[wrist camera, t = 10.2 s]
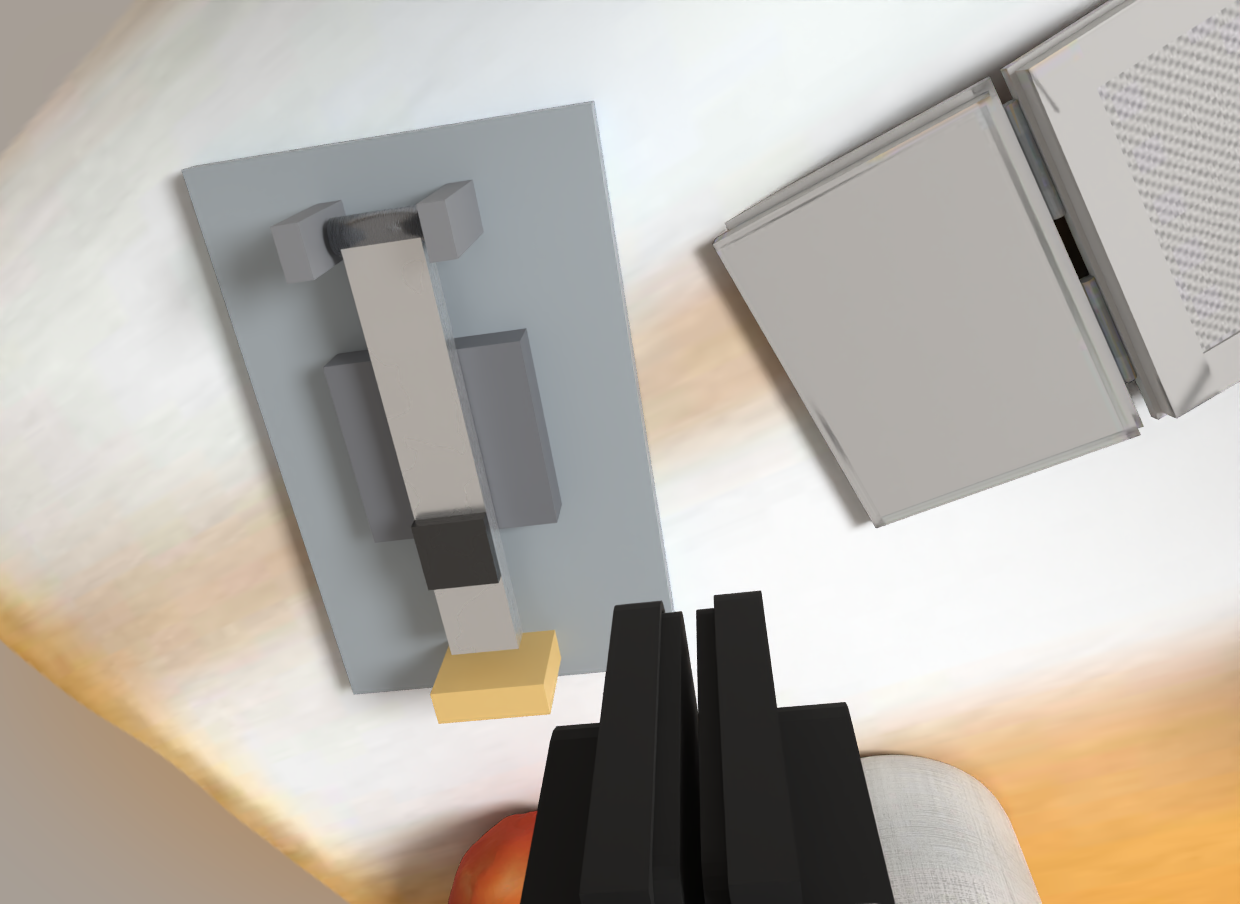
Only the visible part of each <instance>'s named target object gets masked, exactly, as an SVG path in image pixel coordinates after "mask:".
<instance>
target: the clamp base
mask: <svg viewBox="0 0 1240 904" xmlns="http://www.w3.org/2000/svg"><path fill="white" fill-rule="evenodd" d="M182 173H183V176H184V179H185V183H186V186H187V189H188V192H189V195H190V198H191V201H192V204H193V207H194V210H195V213H196V216H197V219H198V222H199V225H200V228H201V231H202V234H203V237H204V240H205V243H206V246H207V249H208V252H209V255H210V259H211V262H212V265H213V268H214V271H215V274H216V277H217V280H218V283H219V286H220V289H221V292H222V295H223V298H224V301H225V304H226V307H227V310H228V313H229V316H230V319H231V322H232V325H233V328H234V332H235V335H236V338H237V341H238V344H239V347H240V350H241V353H242V356H243V359H244V362H245V365H246V368H247V371H248V374H249V377H250V380H251V383H252V386H253V389H254V392H255V395H256V398H257V401H258V404H259V408H260V411H261V414H262V417H263V420H264V423H265V426H266V429H267V432H268V435H269V438H270V441H271V444H272V447H273V450H274V453H275V456H276V459H277V462H278V465H279V468H280V471H281V474H282V477H283V480H284V484H285V487H286V490H287V493H288V496H289V499H290V502H291V505H292V508H293V511H294V514H295V517H296V520H297V523H298V526H299V529H300V532H301V535H302V538H303V541H304V544H305V547H306V550H307V553H308V557H309V560H310V563H311V566H312V569H313V572H314V575H315V578H316V581H317V584H318V587H319V590H320V593H321V596H322V599H323V602H324V605H325V608H326V611H327V614H328V617H329V620H330V623H331V626H332V629H333V633H334V636H335V639H336V642H337V645H338V648H339V651H340V654H341V657H342V660H343V663H344V666H345V669H346V672H347V675H348V678H349V681H350V684H351V687H352V690H353V693H354V694H365V693H376V692H387V691H398V690H409V689H420V688H431V687H433V688H432V691H431V694H430V695H431V699H432V702H433V706H434V709H435V713H436V716H437V720H438V723H439V724H441V723H453V722H465V721H476V720H488V719H500V718H511V717H523V716H535V715H547V714H550V713H551V708H552V703H553V698H554V693H555V687H556V682H557V677H558V676H564V675H575V674H586V673H597V672H606V667H607V659H608V651H609V643H610V634H611V626H612V618H613V610H614V606H615V605H621V604H631V603H641V602H651V601H661V600H662V602H663V605H664V609H665V613H669V612H674V606H673V600H672V594H671V587H670V581H669V574H668V568H667V562H666V555H665V549H664V543H663V536H662V530H661V524H660V517H659V511H658V505H657V498H656V492H655V485H654V479H653V473H652V466H651V460H650V454H649V447H648V441H647V435H646V428H645V422H644V415H643V409H642V403H641V396H640V390H639V384H638V377H637V371H636V365H635V358H634V352H633V345H632V339H631V333H630V326H629V320H628V314H627V307H626V301H625V295H624V288H623V282H622V275H621V269H620V263H619V256H618V250H617V244H616V237H615V231H614V225H613V218H612V212H611V205H610V199H609V193H608V186H607V180H606V174H605V167H604V161H603V155H602V148H601V142H600V136H599V129H598V123H597V116H596V110H595V104H594V101H590V102H584V103H578V104H572V105H566V106H560V107H553V108H547V109H541V110H535V111H529V112H523V113H517V114H510V115H504V116H498V117H492V118H486V119H480V120H474V121H467V122H461V123H455V124H449V125H443V126H437V127H431V128H424V129H418V130H412V131H406V132H400V133H394V134H388V135H381V136H375V137H369V138H363V139H357V140H351V141H345V142H338V143H332V144H326V145H320V146H314V147H308V148H302V149H295V150H289V151H283V152H277V153H271V154H265V155H258V156H252V157H246V158H240V159H234V160H228V161H222V162H215V163H209V164H203V165H197V166H193V167H190V168H186V169H183V170H182ZM412 205H416V206H417V210H418V214H419V219H420V223H421V227H422V231H423V236H424V240H425V244H426V248H427V252H428V257H429V261H430V263H434V262H436V264H437V268H438V272H439V277H440V281H441V285H442V290H443V294H444V298H445V302H446V307H447V311H448V315H449V319H450V324H451V328H452V332H453V336H454V341H455V345H456V349H457V353H458V358H459V362H460V366H461V370H462V375H463V379H464V383H465V387H466V392H467V396H468V400H469V404H470V409H471V413H472V417H473V421H474V426H475V430H476V434H477V438H478V443H479V447H480V451H481V456H482V460H483V464H484V468H485V473H486V477H487V481H488V485H489V490H490V494H491V498H492V502H493V507H494V511H495V515H496V519H497V524H498V528H499V532H500V536H501V541H502V545H503V549H504V553H505V558H506V562H507V566H508V570H509V575H510V579H511V583H512V587H513V592H514V596H515V600H516V605H517V609H518V613H519V617H520V622H521V626H522V630H523V635H522V638H521V642H520V646H519V649H510V650H499V651H489V652H478V653H467V654H457V655H452V654H451V651H450V647H449V643H448V640H447V636H446V633H445V629H444V625H443V622H442V618H441V614H440V611H439V607H438V603H437V600H436V596H435V592H434V590H428V587H427V584H426V580H425V576H424V573H423V569H422V566H421V562H420V558H419V555H418V551H417V548H416V544H415V540H414V537H413V533H412V529H411V526H412V524H413V522H414V520H415V519H414V516H413V512H412V508H411V505H410V501H409V497H408V494H407V490H406V486H405V483H404V479H403V475H402V472H401V468H400V465H399V461H398V457H397V454H396V450H395V446H394V443H393V439H392V435H391V432H390V428H389V424H388V421H387V417H386V413H385V410H384V406H383V402H382V399H381V395H380V391H379V388H378V384H377V381H376V377H375V373H374V370H373V366H372V362H371V359H370V355H369V351H368V348H367V344H366V340H365V337H364V333H363V329H362V326H361V322H360V318H359V315H358V311H357V307H356V304H355V300H354V297H353V293H352V289H351V286H350V282H349V278H348V275H347V271H346V267H345V264H344V260H343V256H341V257H338V256H336V255H335V253H334V252H333V250H332V248H331V246H330V243H329V239H328V234H327V224H328V220H329V219H330V218H333V217H340V216H346V215H353V214H359V213H366V212H372V211H379V210H386V209H392V208H399V207H405V206H412Z"/></svg>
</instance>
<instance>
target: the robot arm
mask: <svg viewBox="0 0 1240 904" xmlns="http://www.w3.org/2000/svg"><path fill="white" fill-rule="evenodd" d="M696 627H697V677H698V709H697V703H696V696H695V690H694V683H693V677H692V670H691V664H690V657H689V651H688V644H687V638H686V631H685V625H684V619H683V614H682V611H680V612H669V613H665V609H664V605H663V602H662V600H661V601H651V602H641V603H631V604H621V605H615V606H614V610H613V618H612V626H611V634H610V643H609V651H608V659H607V667H606V676H605V684H604V692H603V700H602V709H601V717H600V723H591V724H579V725H567V726H557V727H556V728H555V729H554V730H553V733H552V736H551V740H550V745H549V750H548V756H547V761H546V766H545V772H544V777H543V782H542V788H541V793H540V798H539V804H538V809H537V814H536V820H535V825H534V831H533V836H532V841H531V847H530V852H529V857H528V863H527V868H526V873H525V879H524V884H523V889H522V895H521V900H520V904H895V900H894V896H893V892H892V888H891V884H890V880H889V875H888V871H887V867H886V863H885V859H884V854H883V850H882V846H881V842H880V838H879V834H878V829H877V825H876V821H875V817H874V813H873V809H872V804H871V800H870V796H869V792H868V788H867V784H866V779H865V775H864V771H863V767H862V763H861V758H860V754H859V750H858V746H857V742H856V738H855V733H854V729H853V725H852V721H851V717H850V713H849V709H848V706H847V704H846V702H841V703H829V704H817V705H805V706H793V707H781V708H777V704H776V696H775V689H774V682H773V674H772V667H771V659H770V652H769V645H768V637H767V630H766V623H765V615H764V608H763V600H762V593H761V591H753V592H742V593H732V594H722V595H714V608H710V609H700V610H696Z"/></svg>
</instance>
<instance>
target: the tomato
mask: <svg viewBox="0 0 1240 904" xmlns="http://www.w3.org/2000/svg"><path fill="white" fill-rule="evenodd" d="M536 814H537V811H534V812H528V813H525V814H515V815H511V816H507V817H506V818H504V819H503V820H501V821H500V822H499V823H498V824H496V825H495V826H494V827H492V828H491V829H490V830H489V831H488V832H486V833H485V834H484V835H483V836H482V837H481V838H480V839H479V840H478V841H477V842H476V843H475V844H473V845H472V846H471V847H470V849H469V850H468V851H467V852H466V854H465V855H464V856H463V858H462V860H461V862H460V865H459V867H458V870H457V872H456V875H455V879H454V883H453V887H452V890H451V893H450V897H449V901H448V904H520V900H521V895H522V889H523V884H524V879H525V873H526V868H527V863H528V857H529V852H530V847H531V841H532V836H533V831H534V825H535V820H536Z"/></svg>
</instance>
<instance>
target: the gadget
mask: <svg viewBox="0 0 1240 904" xmlns="http://www.w3.org/2000/svg"><path fill="white" fill-rule="evenodd" d="M1001 72H1002V75H1003V77H1004V79H1005V82H1006V84H1007V86H1008V88H1009V91H1010V93H1011V95H1012V98H1013V99H1012V100H1010V101H1008V102H1006V103H1005V104H1003V105H1002V103H1001V101H1000V99H999V97H998V94H997V92H996V90H995V88H994V85H993V83H992V81H991V78H990V77H987V78H985V79H983V80H981V81H979V82H978V83H976V84H974V85H972V86H970V87H968V88H967V89H965V90H963V91H961V92H959V93H957V94H956V95H954V96H952V97H950V98H948V99H946V100H945V101H943V102H941V103H939V104H937V105H935V106H934V107H932V108H930V109H928V110H926V111H924V112H923V113H921V114H919V115H917V116H915V117H913V118H912V119H910V120H908V121H906V122H904V123H902V124H901V125H899V126H897V127H895V128H893V129H892V130H890V131H888V132H886V133H884V134H882V135H881V136H879V137H877V138H875V139H873V140H871V141H870V142H868V143H866V144H864V145H862V146H860V147H859V148H857V149H855V150H853V151H851V152H849V153H848V154H846V155H844V156H842V157H840V158H838V159H837V160H835V161H833V162H831V163H829V164H827V165H826V166H824V167H822V168H820V169H818V170H816V171H815V172H813V173H811V174H809V175H807V176H806V177H804V178H802V179H800V180H798V181H796V182H795V183H793V184H791V185H789V186H787V187H785V188H784V189H782V190H780V191H778V192H776V193H774V194H773V195H771V196H769V197H768V198H766V199H764V200H763V201H761V202H759V203H758V204H756V205H754V206H753V207H751V208H749V209H748V210H746V211H744V212H742V213H741V214H739V215H737V216H736V217H734V218H732V219H731V220H729V221H727V222H726V223H725V225H726V227H727V228H728V230H729V231H727V232H726V233H724V234H722V235H721V236H719V237H717V238H716V239H715V241H714V243H713V246H714V248H715V250H716V252H717V253H718V255H719V257H720V258H721V260H722V262H723V264H724V265H725V267H726V269H727V271H728V272H729V274H730V276H731V278H732V279H733V281H734V283H735V285H736V286H737V288H738V290H739V291H740V293H741V295H742V297H743V298H744V300H745V302H746V304H747V305H748V307H749V309H750V311H751V312H752V314H753V316H754V318H755V319H756V321H757V323H758V324H759V326H760V328H761V330H762V331H763V333H764V335H765V337H766V338H767V340H768V342H769V344H770V345H771V347H772V349H773V351H774V352H775V354H776V356H777V357H778V359H779V361H780V363H781V364H782V366H783V368H784V370H785V371H786V373H787V375H788V377H789V378H790V380H791V382H792V384H793V385H794V387H795V389H796V390H797V392H798V394H799V396H800V397H801V399H802V401H803V403H804V404H805V406H806V408H807V410H808V411H809V413H810V415H811V417H812V418H813V420H814V422H815V423H816V425H817V427H818V429H819V430H820V432H821V434H822V436H823V437H824V439H825V441H826V443H827V444H828V446H829V448H830V450H831V451H832V453H833V455H834V456H835V458H836V460H837V462H838V463H839V465H840V467H841V469H842V470H843V472H844V474H845V476H846V477H847V479H848V481H849V483H850V484H851V486H852V488H853V489H854V491H855V493H856V495H857V496H858V498H859V500H860V502H861V503H862V505H863V507H864V509H865V510H866V512H867V514H868V516H869V517H870V519H871V521H872V522H873V524H874V526H875V528H879V527H881V526H884V525H887V524H890V523H893V522H896V521H898V520H901V519H904V518H907V517H910V516H913V515H915V514H918V513H921V512H924V511H927V510H930V509H932V508H935V507H938V506H941V505H944V504H947V503H949V502H952V501H955V500H958V499H961V498H964V497H966V496H969V495H972V494H975V493H978V492H981V491H983V490H986V489H989V488H992V487H995V486H998V485H1000V484H1003V483H1006V482H1009V481H1012V480H1015V479H1017V478H1020V477H1023V476H1026V475H1029V474H1032V473H1034V472H1037V471H1040V470H1043V469H1046V468H1049V467H1051V466H1054V465H1057V464H1060V463H1063V462H1066V461H1068V460H1071V459H1074V458H1077V457H1080V456H1083V455H1085V454H1088V453H1091V452H1094V451H1097V450H1100V449H1102V448H1105V447H1108V446H1111V445H1114V444H1117V443H1119V442H1122V441H1125V440H1128V439H1131V438H1134V437H1136V436H1139V435H1140V432H1139V430H1138V428H1141V427H1144V426H1143V424H1142V421H1141V419H1140V417H1139V415H1138V412H1137V410H1136V408H1135V405H1134V403H1133V401H1132V399H1131V396H1130V394H1129V392H1128V390H1127V387H1126V385H1125V383H1124V382H1130V381H1133V380H1134V379H1135V380H1136V382H1137V385H1138V387H1139V389H1140V392H1141V394H1142V396H1143V398H1144V401H1145V403H1146V405H1147V408H1148V410H1149V412H1150V415H1151V417H1154V418H1156V419H1158V420H1159V419H1161V418H1162V417H1164V416H1166V415H1167V414H1168V415H1170V416H1172V417H1174V418H1178V417H1180V416H1182V415H1184V414H1185V413H1187V412H1189V411H1190V410H1192V409H1194V408H1195V407H1197V406H1199V405H1200V404H1202V403H1204V402H1206V401H1207V400H1209V399H1211V398H1212V397H1214V396H1216V395H1217V394H1219V393H1221V392H1223V391H1224V390H1226V389H1228V388H1229V387H1231V386H1233V385H1234V384H1236V383H1238V382H1239V381H1240V0H1109V1H1107V2H1106V3H1104V4H1102V5H1101V6H1099V7H1098V8H1096V9H1095V10H1093V11H1091V12H1090V13H1088V14H1087V15H1085V16H1084V17H1082V18H1080V19H1079V20H1077V21H1076V22H1074V23H1073V24H1071V25H1069V26H1068V27H1066V28H1065V29H1063V30H1062V31H1060V32H1059V33H1057V34H1055V35H1054V36H1052V37H1051V38H1049V39H1048V40H1046V41H1044V42H1043V43H1041V44H1040V45H1038V46H1037V47H1035V48H1033V49H1032V50H1030V51H1029V52H1027V53H1026V54H1024V55H1022V56H1021V57H1019V58H1018V59H1016V60H1015V61H1013V62H1011V63H1010V64H1008V65H1007V66H1005V67H1004V68H1002V69H1001ZM1062 216H1064V217H1065V219H1066V222H1067V224H1068V226H1069V229H1070V231H1071V233H1072V235H1073V238H1074V240H1075V242H1076V245H1077V247H1078V249H1079V251H1080V254H1081V256H1082V258H1083V261H1084V263H1085V265H1086V268H1087V270H1088V272H1089V274H1090V275H1088V276H1085V277H1083V278H1081V279H1080V280H1079V278H1078V276H1077V274H1076V271H1075V269H1074V267H1073V265H1072V262H1071V260H1070V258H1069V256H1068V253H1067V251H1066V249H1065V246H1064V244H1063V242H1062V240H1061V237H1060V235H1059V233H1058V231H1057V228H1056V226H1055V224H1054V222H1053V220H1055V219H1058V218H1060V217H1062Z"/></svg>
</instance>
